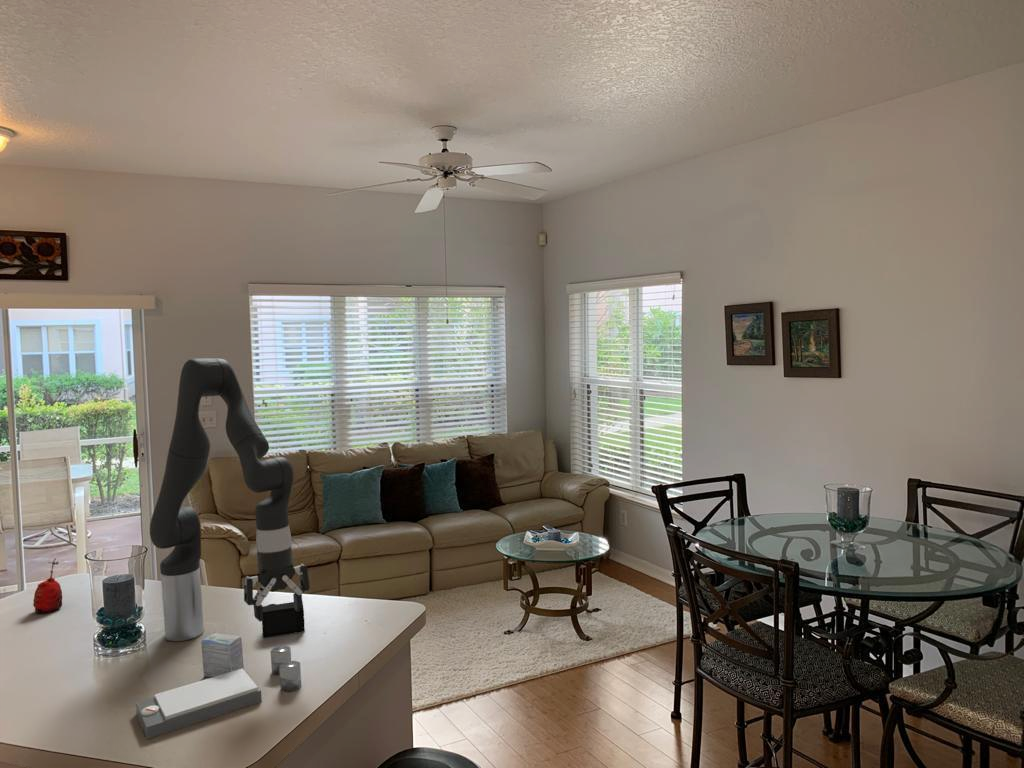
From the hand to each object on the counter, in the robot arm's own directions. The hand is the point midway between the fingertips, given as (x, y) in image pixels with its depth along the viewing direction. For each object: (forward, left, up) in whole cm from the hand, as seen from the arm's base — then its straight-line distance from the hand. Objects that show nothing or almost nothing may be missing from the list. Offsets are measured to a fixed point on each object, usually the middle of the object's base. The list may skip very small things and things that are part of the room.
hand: (279, 615), depth 166 cm
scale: (+5, -19, -13) cm, 24 cm away
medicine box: (-7, -11, -14) cm, 19 cm away
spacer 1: (0, 0, -13) cm, 13 cm away
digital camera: (-22, +8, -14) cm, 27 cm away
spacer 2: (+9, -1, -13) cm, 16 cm away
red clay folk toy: (-82, -40, -14) cm, 92 cm away
